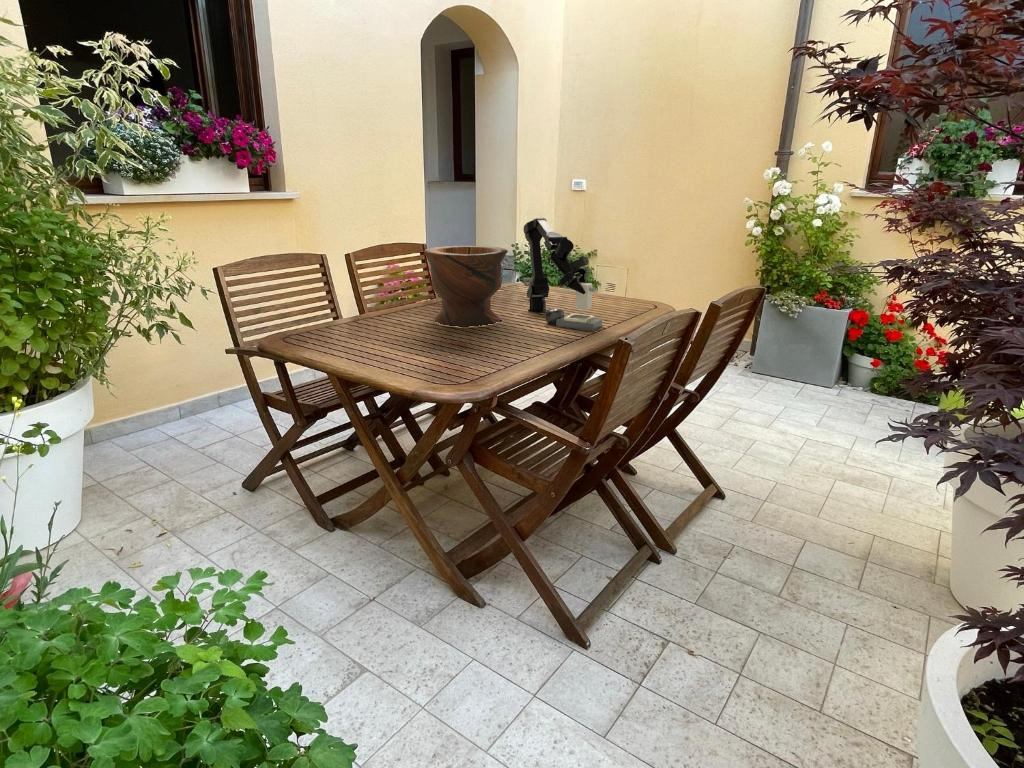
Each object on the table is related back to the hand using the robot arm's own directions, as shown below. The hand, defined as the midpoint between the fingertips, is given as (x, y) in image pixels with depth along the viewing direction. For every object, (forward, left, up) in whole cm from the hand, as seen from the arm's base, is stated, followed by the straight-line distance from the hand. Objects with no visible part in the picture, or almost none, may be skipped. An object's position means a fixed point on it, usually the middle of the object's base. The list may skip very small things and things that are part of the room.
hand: (587, 292), depth 247 cm
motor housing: (-5, -3, -14) cm, 15 cm away
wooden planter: (-48, -15, -14) cm, 52 cm away
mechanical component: (-45, +40, -14) cm, 62 cm away
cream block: (-1, 0, -7) cm, 7 cm away
